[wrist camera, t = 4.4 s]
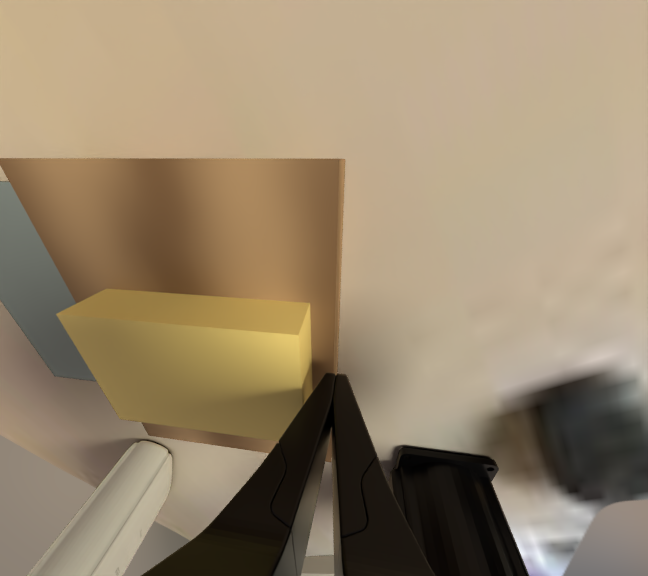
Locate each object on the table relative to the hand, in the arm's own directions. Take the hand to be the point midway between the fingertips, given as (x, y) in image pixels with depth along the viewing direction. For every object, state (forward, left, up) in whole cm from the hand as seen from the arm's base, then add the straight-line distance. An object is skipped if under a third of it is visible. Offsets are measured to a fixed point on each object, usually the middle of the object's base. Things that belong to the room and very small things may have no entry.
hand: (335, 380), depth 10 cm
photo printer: (+18, +20, -4) cm, 27 cm away
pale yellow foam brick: (+6, 0, -1) cm, 6 cm away
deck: (+6, 0, -4) cm, 7 cm away
